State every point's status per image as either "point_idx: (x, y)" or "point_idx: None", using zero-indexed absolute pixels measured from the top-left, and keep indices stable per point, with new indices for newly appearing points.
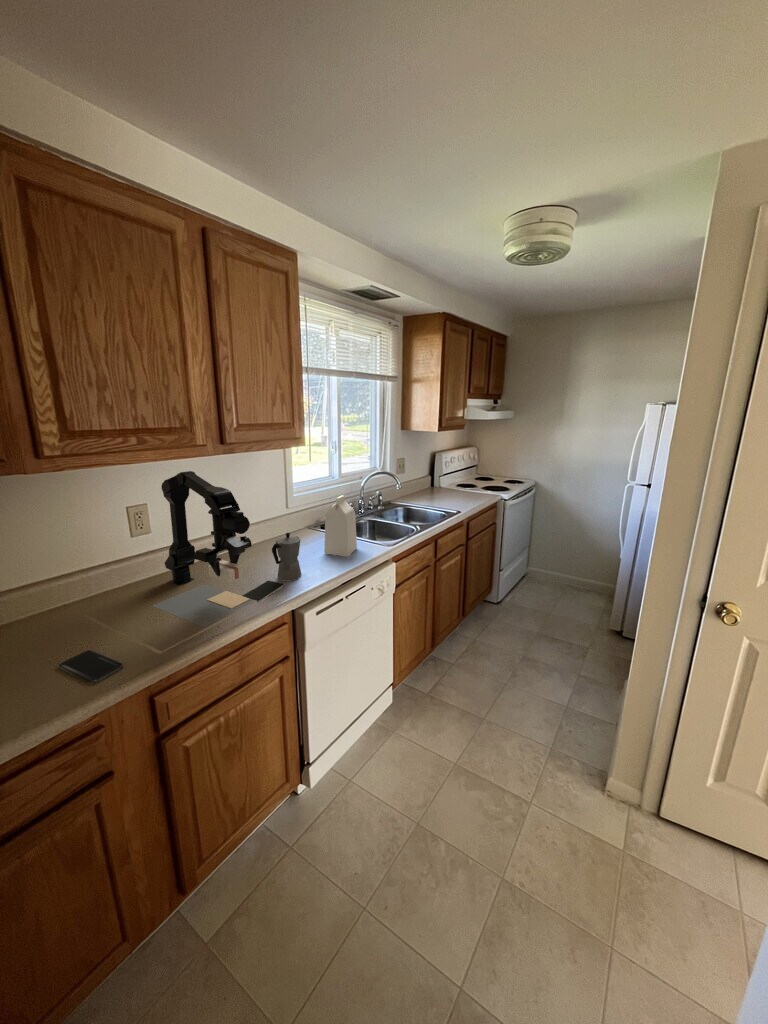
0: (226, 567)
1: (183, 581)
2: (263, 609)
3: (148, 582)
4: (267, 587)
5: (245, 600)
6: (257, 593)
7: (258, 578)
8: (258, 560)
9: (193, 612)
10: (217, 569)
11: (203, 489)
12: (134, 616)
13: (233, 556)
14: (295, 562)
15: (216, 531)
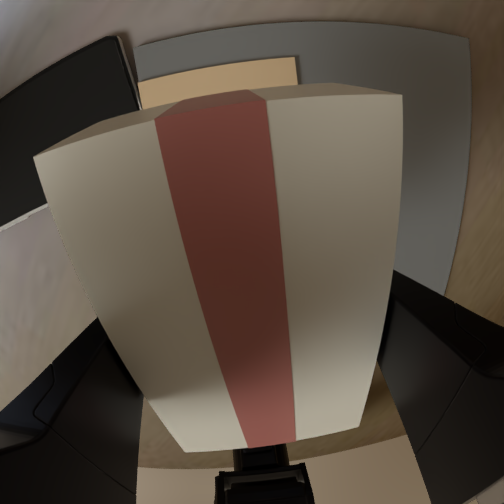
0: (293, 297)
1: None
2: None
3: (315, 447)
4: (3, 163)
5: (171, 82)
6: (68, 128)
7: (13, 294)
8: (2, 393)
9: (420, 189)
10: (437, 294)
11: None
12: (478, 310)
13: (93, 448)
14: None
15: None
